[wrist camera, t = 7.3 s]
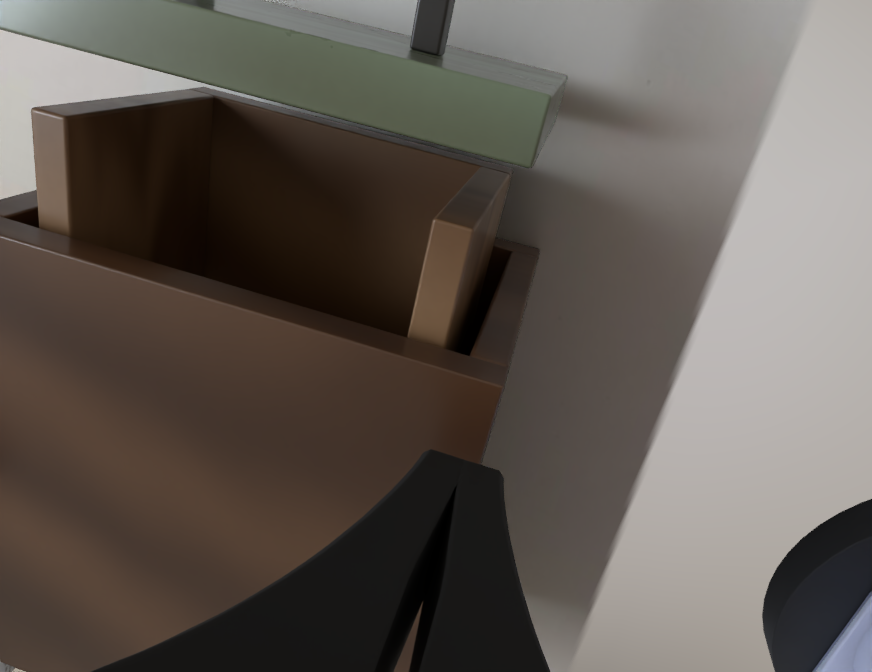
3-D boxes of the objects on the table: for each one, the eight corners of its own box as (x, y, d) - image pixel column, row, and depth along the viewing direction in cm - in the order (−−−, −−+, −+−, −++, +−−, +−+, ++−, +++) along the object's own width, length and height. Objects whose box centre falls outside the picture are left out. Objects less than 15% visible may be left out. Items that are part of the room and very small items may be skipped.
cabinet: (182, 150, 20) (-65, 215, 13) (540, 249, 19) (504, 386, 12) (171, 483, 26) (-1, 662, 19) (442, 574, 25) (376, 806, 18)
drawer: (197, -230, 15) (-61, -405, 9) (629, -140, 14) (654, -273, 8) (176, 375, 23) (26, 494, 17) (457, 464, 22) (405, 626, 16)
